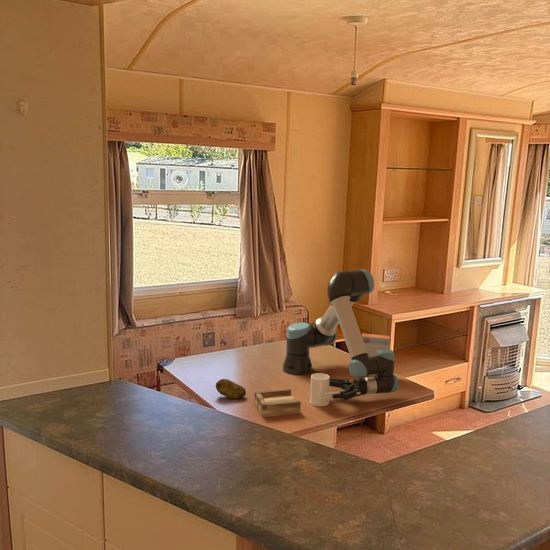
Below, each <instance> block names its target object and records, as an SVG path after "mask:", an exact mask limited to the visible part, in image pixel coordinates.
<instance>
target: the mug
mask: <svg viewBox="0 0 550 550" xmlns="http://www.w3.org/2000/svg"><path fill="white" fill-rule="evenodd" d="M330 378H331V377H330V375H328V374H327V373H322V372H320V373H318V372H317V373H316V372H315V373H313V374H311V376H310V397H309V399H310V400H309V404H310V403H311V404H310V405H312V406H315V407H326V406H328V405H329V404H330V399H328V400H325V399H324V394H325V393H330V386H329V381H330Z"/></svg>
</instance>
